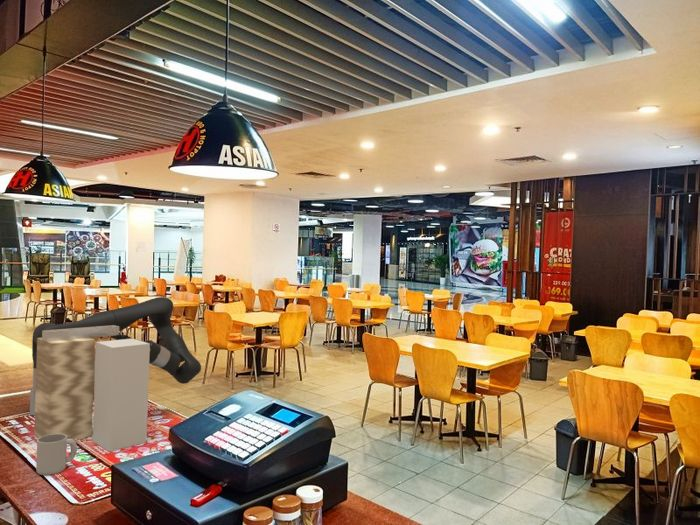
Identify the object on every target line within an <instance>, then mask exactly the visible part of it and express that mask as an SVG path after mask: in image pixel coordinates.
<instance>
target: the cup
mask: <svg viewBox="0 0 700 525" xmlns="http://www.w3.org/2000/svg"><path fill="white" fill-rule="evenodd" d="M68 445H69V446H70V453H69V455H68V456H67V450H68V448H67V447H68ZM77 451H78V445H77V442H76V440H73V439H67V436H66V435H64V434H50V435H45V436H42V437H40V438H37V439H36V463H35V470H36V473H37V474H38V475H41V476H51V475H56V474H59V473H62V472H63V471H65V469H66V466H67V463H69V462H71V461H73V460H74V458H75V457H76V455H77Z"/></svg>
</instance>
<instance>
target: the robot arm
mask: <svg viewBox="0 0 700 525" xmlns="http://www.w3.org/2000/svg"><path fill="white" fill-rule="evenodd" d="M173 310H174V302H173V301H172V299H170V298H169V297H164V296H159V297H154V298H152V299H148V300H144V301H142V302H139V303H135V304H130V305H128V306H123V307H120V308H114V309H109V310H105V311H100V312H97V313H94V314H91V315H89V316H87V317H85V318H82V319H80V320H77V321H73V322H67V323H61V324H56V323H53V322H43V323H40V324H39V325H37V326H36V327H35V328H34V330H33V333H32V338H31V340H32V342H31V343H32V344H31V346H32V348H31V349H32V351H31V352H32V353H31V355H32V367H33V368H32V370H33V371H32V388H31V389H30V392H29V393H30V394H29V416H35V394H36V361H37V338H42V331H43V330H57V329H70V328H83V327H96V326H109V325H116V326H119V332H121V331H123V330H125V329H127V328H128V327H130V326H132V325H133V324H135V323H136V322H137V321H140V320H143V319H145V318H147V317H148V319H149V322H150V323H151V324H152V326H153V327H154V328H155V330H156V331H157V334H159V336H160V338H161V339H162V340H163V343H164V344H165V347H164V346H162V345H160V344H158V343H157V342H155V341H153V340H150V339H148V340H146V341H144V342H146V343H149V344H150V355H149V365H152V366H154V367H157V368H159V369H161V370H163V371H166V372H167V373H168V374H169V375H171V377H173V378H174V379H175V381H177V383H179V384H183V385H184V384H188V383H190V382H191V381H192V380H193V379H194V378H195V377H196V376H197V375H199V374H200V373H201V371H202V365H201V362H200V361H199V360H198V359H197V358H196V357H195V356H194V355H193V354H192V353H191V352H190V350H189V348H188V346H187V344H186V342H185V340H184V338H183V337H182V336H181V335H180V334H179V333H178V332H177V331H175V329H174V328H173V324H172V320H171V317H172V314H173ZM110 337H111V338H112V339H114V340H123V339H134V338H133V337H130V336H129V335H126V334H123V335H122V334H120V333H119V335H115V336H110ZM94 338H95V337H92V338H91V339H94ZM136 340H139V341H141V339H137V338H136ZM181 363H182V364H181Z"/></svg>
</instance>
